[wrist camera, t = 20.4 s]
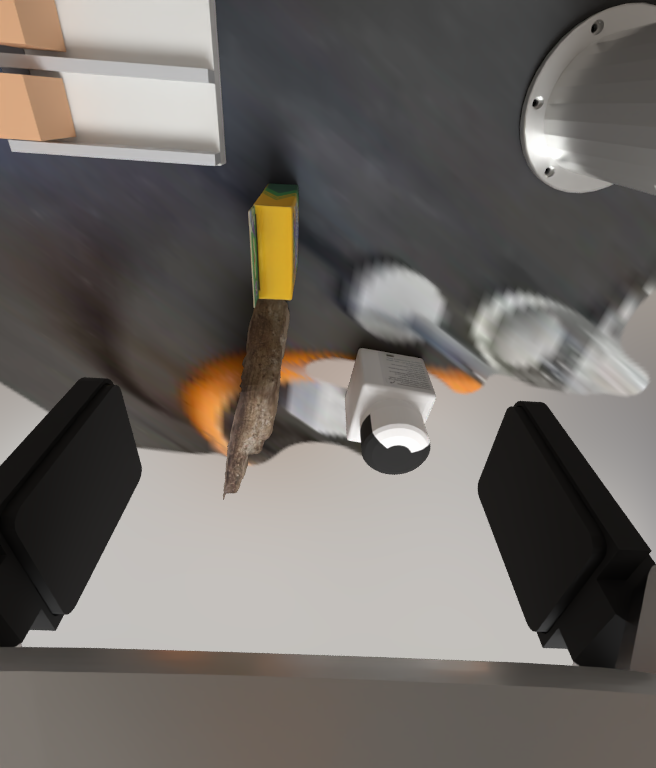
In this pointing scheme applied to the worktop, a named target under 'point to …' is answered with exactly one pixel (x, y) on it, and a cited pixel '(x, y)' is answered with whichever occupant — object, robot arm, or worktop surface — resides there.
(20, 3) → the tan rectangular block
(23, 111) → the light orange block
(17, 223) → the worktop surface
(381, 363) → the container
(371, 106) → the worktop surface
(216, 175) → the worktop surface
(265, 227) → the crayon box
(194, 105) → the white divided tray
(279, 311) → the mineral sample
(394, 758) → the robot arm
